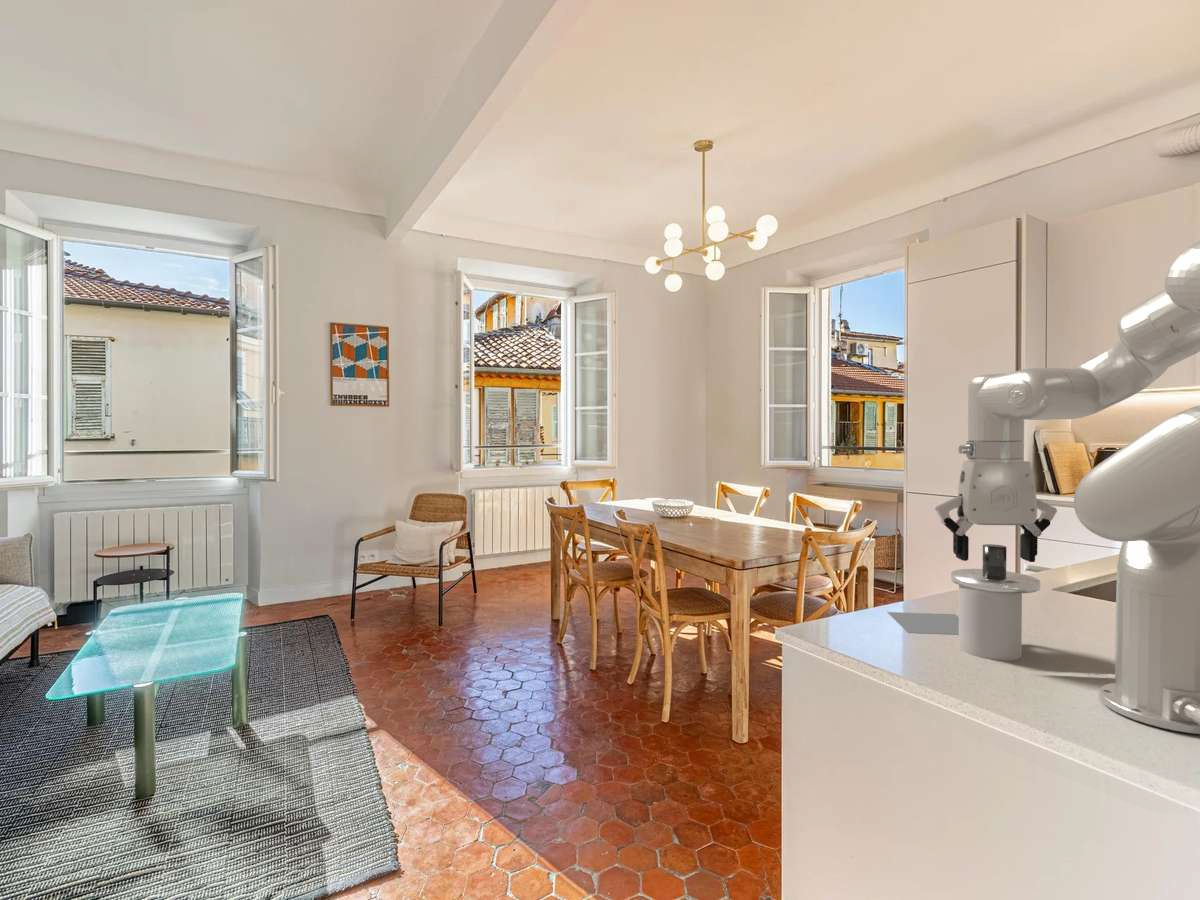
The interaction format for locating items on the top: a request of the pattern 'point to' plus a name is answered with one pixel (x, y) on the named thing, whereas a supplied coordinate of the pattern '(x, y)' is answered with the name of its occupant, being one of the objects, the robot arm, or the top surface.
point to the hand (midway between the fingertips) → (994, 559)
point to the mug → (990, 624)
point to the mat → (927, 622)
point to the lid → (995, 574)
